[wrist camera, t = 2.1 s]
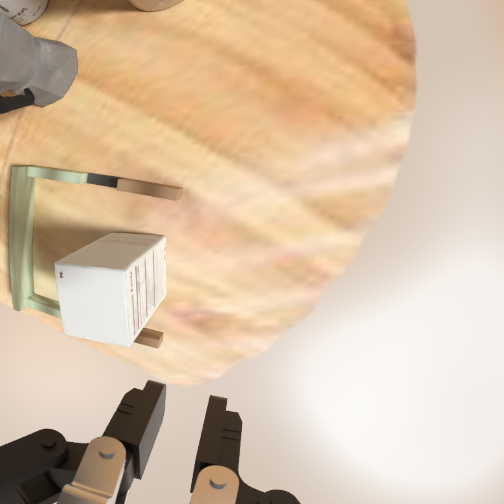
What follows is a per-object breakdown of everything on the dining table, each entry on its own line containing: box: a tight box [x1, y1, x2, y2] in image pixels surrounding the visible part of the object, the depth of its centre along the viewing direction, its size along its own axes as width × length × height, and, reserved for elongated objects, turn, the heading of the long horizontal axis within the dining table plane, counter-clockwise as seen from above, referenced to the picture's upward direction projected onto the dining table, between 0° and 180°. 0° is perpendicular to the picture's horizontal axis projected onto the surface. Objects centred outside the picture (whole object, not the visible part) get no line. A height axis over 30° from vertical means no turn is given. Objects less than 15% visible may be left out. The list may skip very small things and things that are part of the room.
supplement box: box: [54, 232, 167, 347], centre depth 31 cm, size 7×7×13 cm
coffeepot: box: [0, 13, 78, 114], centre depth 23 cm, size 15×9×18 cm, turn 32°
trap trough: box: [9, 165, 183, 348], centre depth 35 cm, size 22×19×4 cm
